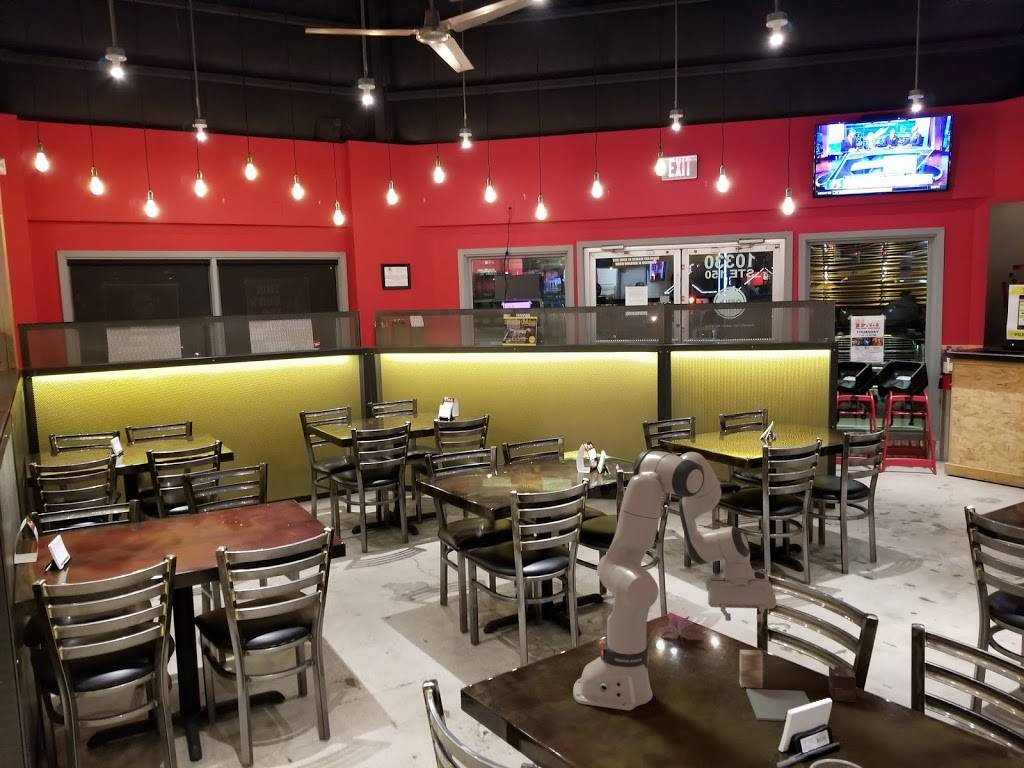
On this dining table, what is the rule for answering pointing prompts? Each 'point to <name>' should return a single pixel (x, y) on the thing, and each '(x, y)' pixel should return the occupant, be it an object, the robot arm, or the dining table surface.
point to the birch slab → (751, 669)
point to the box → (842, 684)
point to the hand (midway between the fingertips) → (744, 620)
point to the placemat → (775, 702)
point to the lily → (675, 626)
